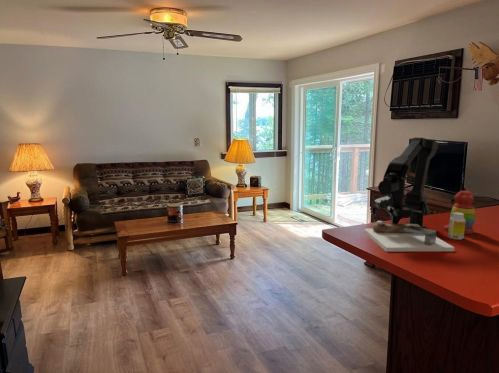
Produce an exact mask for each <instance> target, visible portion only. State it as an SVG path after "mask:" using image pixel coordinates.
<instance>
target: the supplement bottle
mask: <svg viewBox="0 0 499 373" xmlns="http://www.w3.org/2000/svg"><path fill="white" fill-rule="evenodd" d="M448 225H449V231H448V234H447V236H448V238H449V239H453V240H463V239H464V237H465V234H464V230H465V219H464V214H463V213H458V212H454V213H453V214H452V217H451V218H450V217H449V222H448Z"/></svg>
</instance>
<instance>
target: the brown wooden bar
mask: <svg viewBox="0 0 499 373" xmlns="http://www.w3.org/2000/svg"><path fill="white" fill-rule="evenodd" d="M410 225H411V226H416V227H421V226H420V225H418V224H406V223H398V224H392V223H386V222H385V223H384V222H383V224H382V225H379V224H377V222H375V223H373V225H372V226H373V227H372V229H373V230H374V231H376V232H408V231H404V228H405V227H407V226H410ZM421 228H422V227H421Z"/></svg>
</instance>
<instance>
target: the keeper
mask: <svg viewBox="0 0 499 373" xmlns="http://www.w3.org/2000/svg"><path fill="white" fill-rule="evenodd" d="M404 231H408V232H413V233H417V234H421V235H425V242H424V244H425V245H429V246H430V245H432V244H434V243H436V237H437V232H438V231H437V230H434V229H429V228H426V227H416V226H411V225H410V226H407V227H405V228H404Z"/></svg>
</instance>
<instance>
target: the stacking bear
mask: <svg viewBox="0 0 499 373" xmlns="http://www.w3.org/2000/svg"><path fill="white" fill-rule="evenodd" d="M453 199H454V201H455V203H454V204H453V206H452V208H451V211H450V213H449V214H450V217H449V219H450V218H451V217H452V214H453V213H454V212H458V213H463V214H464V219H465V230H464V235H470V234H471V235H472V234H474V228H473V227H474V224H475V222H476V216H477V215H476V210H475V207H474V205H473V204H472V203H473V202H474V199H475V198H474V194H473V193H472V191H471V190H460V191H458V192H457V193H456V194H455V195H454V196H453ZM443 229H444V230H445V231H448V232H449V224H446V225H444V226H443Z"/></svg>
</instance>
